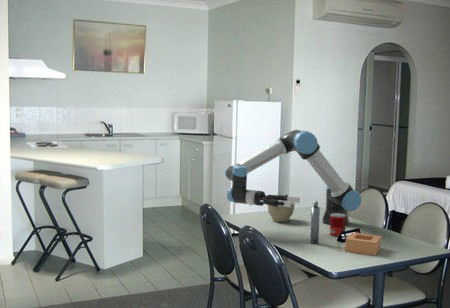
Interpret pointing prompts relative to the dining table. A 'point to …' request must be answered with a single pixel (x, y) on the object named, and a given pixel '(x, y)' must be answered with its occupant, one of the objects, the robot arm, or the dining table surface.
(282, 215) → the planter bowl
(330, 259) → the dining table surface
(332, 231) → the canned food
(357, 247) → the hollowed wooden tray
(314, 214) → the slim metal bottle
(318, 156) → the robot arm
